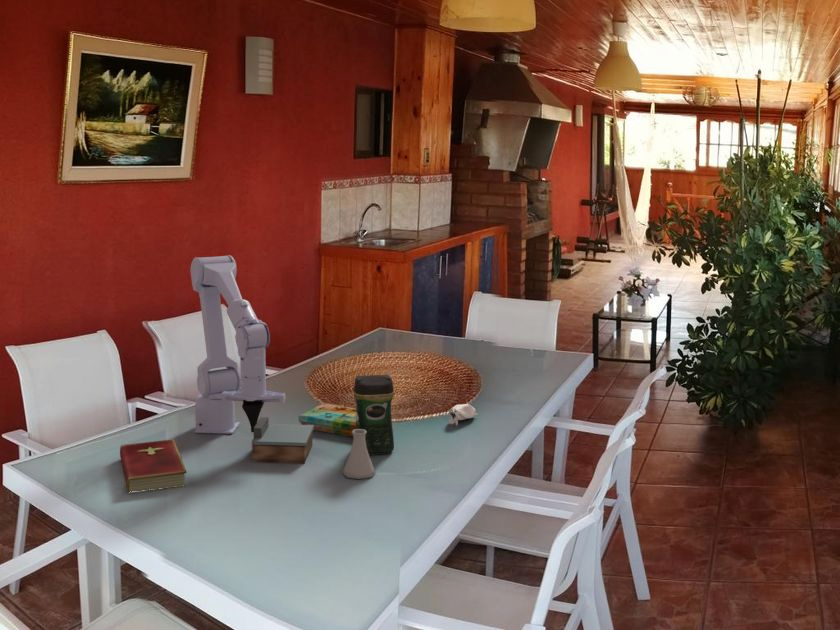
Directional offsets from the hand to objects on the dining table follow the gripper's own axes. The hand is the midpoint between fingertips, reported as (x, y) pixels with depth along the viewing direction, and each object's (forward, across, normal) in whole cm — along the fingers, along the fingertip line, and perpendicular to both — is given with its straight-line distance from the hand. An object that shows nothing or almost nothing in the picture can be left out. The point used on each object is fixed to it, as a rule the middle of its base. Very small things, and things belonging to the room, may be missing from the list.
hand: (254, 430), depth 202 cm
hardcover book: (+6, -20, -14) cm, 25 cm away
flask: (+6, +26, -11) cm, 29 cm away
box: (+5, +7, 0) cm, 9 cm away
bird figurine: (+6, +49, +28) cm, 57 cm away
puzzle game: (+6, +19, +19) cm, 28 cm away
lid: (+1, +7, 0) cm, 7 cm away
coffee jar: (+6, +28, +4) cm, 29 cm away
